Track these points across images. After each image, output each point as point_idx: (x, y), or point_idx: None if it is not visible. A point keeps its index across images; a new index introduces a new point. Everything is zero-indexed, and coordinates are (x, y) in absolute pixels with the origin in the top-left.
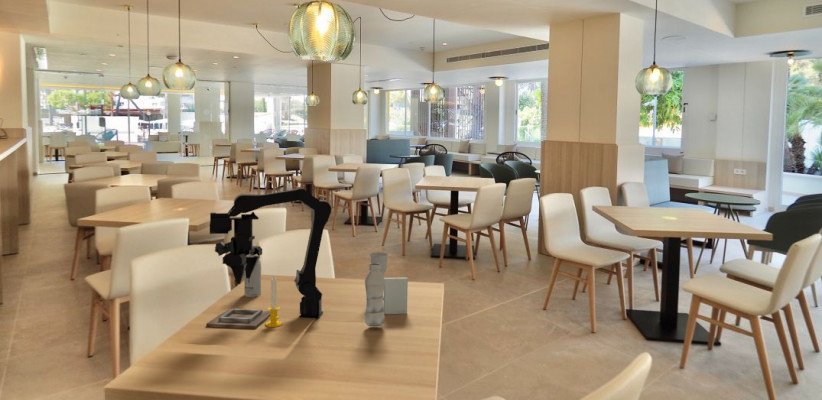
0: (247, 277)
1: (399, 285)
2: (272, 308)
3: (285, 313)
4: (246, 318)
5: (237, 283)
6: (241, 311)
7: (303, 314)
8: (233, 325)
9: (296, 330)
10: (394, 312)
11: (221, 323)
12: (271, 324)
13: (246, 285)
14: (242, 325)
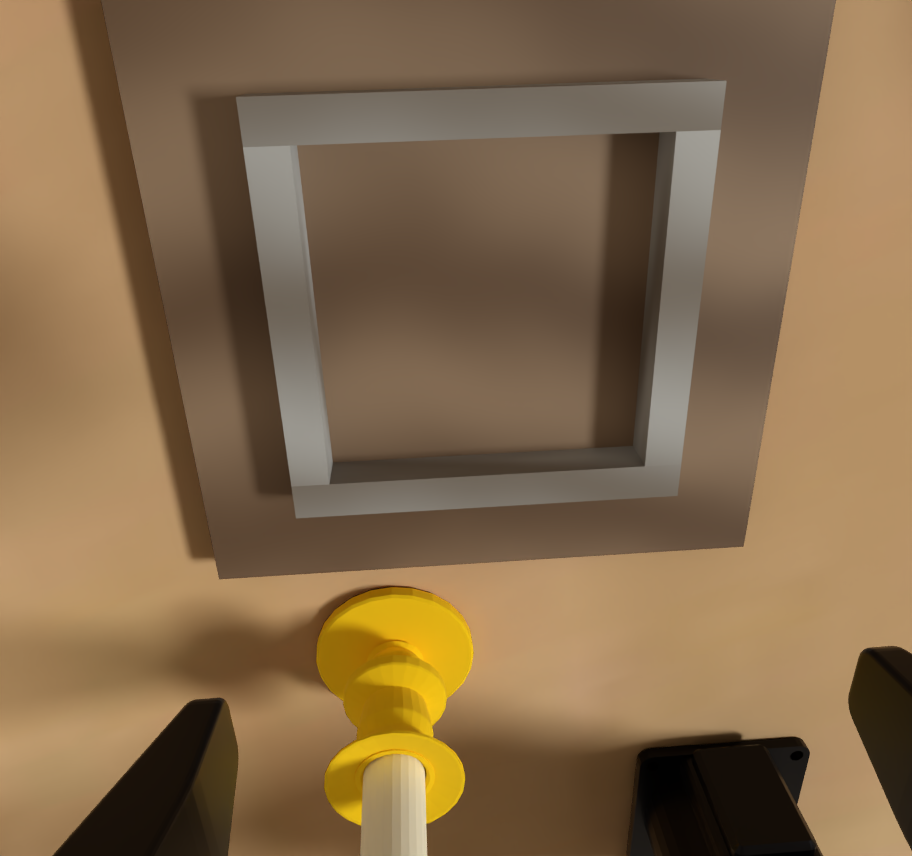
0: (868, 685)
1: None
2: (361, 788)
3: (762, 615)
4: (303, 470)
5: (186, 723)
6: (658, 244)
7: (678, 777)
8: (176, 351)
9: (290, 830)
10: None
11: (172, 183)
12: (343, 659)
13: None
14: (194, 452)
